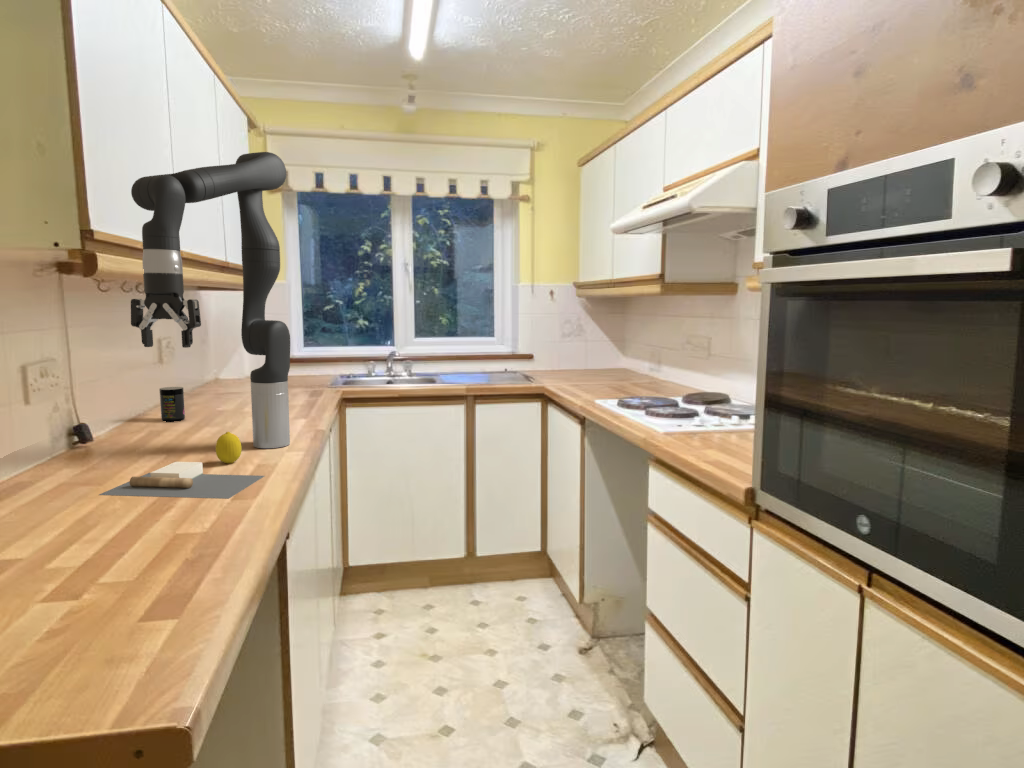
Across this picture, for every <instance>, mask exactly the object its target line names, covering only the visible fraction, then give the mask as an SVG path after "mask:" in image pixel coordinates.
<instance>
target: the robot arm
mask: <svg viewBox="0 0 1024 768" xmlns="http://www.w3.org/2000/svg"><path fill="white" fill-rule="evenodd" d="M286 179H287V168H286V166H285V163H284V161H283V160H282V158H281V157H279V156H278V155H277V154H276V153H273V152H269V151H260V152H259V151H258V152H249V153H243V154H241V155H239V156H238V157H237V159H236V161H235V163H231V164H223V165H213V166H212V165H211V166H203V167H202V166H201V167H196V168H191V169H185V170H182V171H178V172H175V173H167V174H156V175H149V176H143V177H140V178H138V179H136V180H135V181H134V183H133V184H132V187H131V192H130V193H131V197H132V200H133V201H134V203H135V204H136V205H137V206H138V207H140V208H141V209H144V210H146V211H151V212H153V213H152V214H153V215H152V217H151V219H150V220H149V221H146V222H145V223H143V225H142V228H141V238H142V241H141V242H142V249H143V250H142V251H143V252H142V261H141V262H142V270H143V269H144V274H143V273H142V276H143V290H144V291H143V292H144V294H145V298H144V299H142V298H131V300H130V325H131V327H135V328H138V329H139V330H140V335H141V343H142V345H143V347H145V348H152V347H153V346H154V337H153V335H154V334H153V329H152V327H153V326H154V324H155V323H156V322H157V321H158V320H173V321H174V322H175V323H177V324H178V325H179V327H180V328H181V329H182V330H181V345H182V346H181V347H182V348H187V349H188V348H191V346H192V345H193V330H194V329H196V328H199V327H201V326H202V320H201V310H200V302H199V300H198V299H193V298H192V299H187V300H185V298H184V293H185V289H184V285H185V284H184V272H183V271H184V270H183V260H182V259H183V258H182V255H181V239H180V230H181V227H182V226H181V225H182V222H183V217H184V213H185V207H186V204H193V203H194V204H195V203H200V202H204V201H208V200H211V199H212V200H213V199H215V198H219V197H224V196H228V195H231V194H234V193H235V194H236V193H237V199H238V208H239V219H240V231H241V232H240V234H241V237H240V238H241V245H240V246H241V266H242V290H243V291H242V292H243V293H242V294H243V295H242V300H243V301H242V315H241V316H242V317H241V342H242V346H243V348H244V350H245V351H246V352H247V353H248V354H249V355H254V356H265V358H264V364H263V365H262V366H259V367H258V368H255V369H253V370H251V372H250V396H251V399H250V401H251V419H252V423H251V424H252V443H253V445H252V446H253V447H254V448H258V449H275V448H276V449H277V448H283V447H287V446H289V445H290V444H291V435H290V432H291V431H290V430H291V429H290V405H289V402H290V400H289V378H288V377H289V372H290V368H291V333H290V330H289V327H288V326H287V324H286V323H285V322H283V321H282V320H270V319H269V320H267V319H266V315H265V314H266V303H267V299H268V296H269V294H270V293H271V290H273V287H274V285H275V283H276V281H277V279H278V277H279V274H280V271H281V252H280V250H281V249H280V248H281V247H280V241H279V240H278V237H277V236H276V233H275V231H274V229H273V228H272V226H271V224H270V223H269V221H268V218H267V216H266V213H265V209H264V203H263V202H264V201H263V192H265V191H266V192H267V191H273V190H277V189H279V188H280V187H282V186H283V185H284V183H285V182H286ZM145 307H146V309H147V312H146V313H145V314H144V309H145ZM184 308H186V310H187V313H188V315H186V313H185V312H184V311H183V310H184Z"/></svg>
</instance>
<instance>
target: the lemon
mask: <svg viewBox="0 0 1024 768" xmlns="http://www.w3.org/2000/svg"><path fill="white" fill-rule="evenodd" d="M239 438H240V437H238V436H237V435H236V434H234V433H232V432H231V431H226V432H225V433H223V434H222V435H220V436H219V437H218V439H217V440H216V443H215V454H216V457H217V458H218V460H219V461H221V462H222V463H224V464H226V465H229V464H233V463H234V462H236V461H238V459H240V456H241V455H242V448H243V447H242V443H241V440H240V439H239Z"/></svg>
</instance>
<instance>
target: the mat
mask: <svg viewBox="0 0 1024 768" xmlns="http://www.w3.org/2000/svg"><path fill="white" fill-rule="evenodd" d="M139 477H151V472H148V473H145V474H144V475H141V476H139ZM262 478H265V475H256V474H255V475H253V474H251V475H250V474H217V473H216V474H215V473H214V474H210V473H209V474H207V473H203V474H201V475H199V476H197V477H195V478H193V479H192V480H193V485H192V487H191V488H168V487H132V486H130V480H129V481H127V482H124V483H122V484H120V485H117V486H115V487H113V488H111V489H108V490H105V491H103V492H101V493H99V494H98V496H113V497H114V496H118V497H121V496H122V497H148V498H149V497H151V498H152V497H153V498H154V497H155V498H187V499H193V498H194V499H222V500H223V499H225V500H227V499H228V500H229V499H231V498H232V497H234V496H235V495H237V494H239V493H241V492H242V491H244V490H245V489H247V488H248V487H250V486H252V485H253V484H255V483H257V482H258V481H259V480H262Z"/></svg>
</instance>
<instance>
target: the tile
mask: <svg viewBox="0 0 1024 768" xmlns="http://www.w3.org/2000/svg"><path fill="white" fill-rule="evenodd" d="M203 466H204V465H203V462H201V461H174V462H172V463H170V464H167V465H165V466H163V467H160V468H158V469H156V470H153V471H151V472H150V473H151V477H168V478H192V479H193V478H195V477H197V476H199V475H201V474H204V470H203V469H204V467H203Z"/></svg>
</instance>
